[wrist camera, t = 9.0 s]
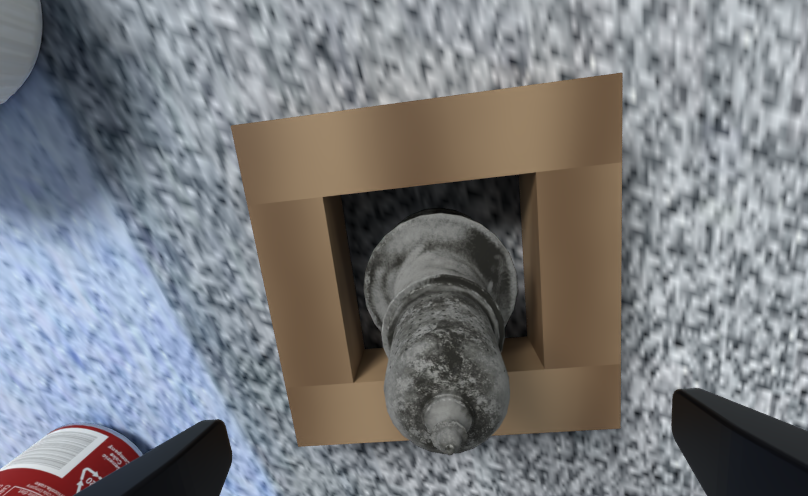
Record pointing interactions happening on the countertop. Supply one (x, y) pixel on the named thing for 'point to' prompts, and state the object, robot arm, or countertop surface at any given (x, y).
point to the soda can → (67, 461)
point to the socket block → (432, 164)
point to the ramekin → (18, 43)
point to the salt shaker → (443, 327)
